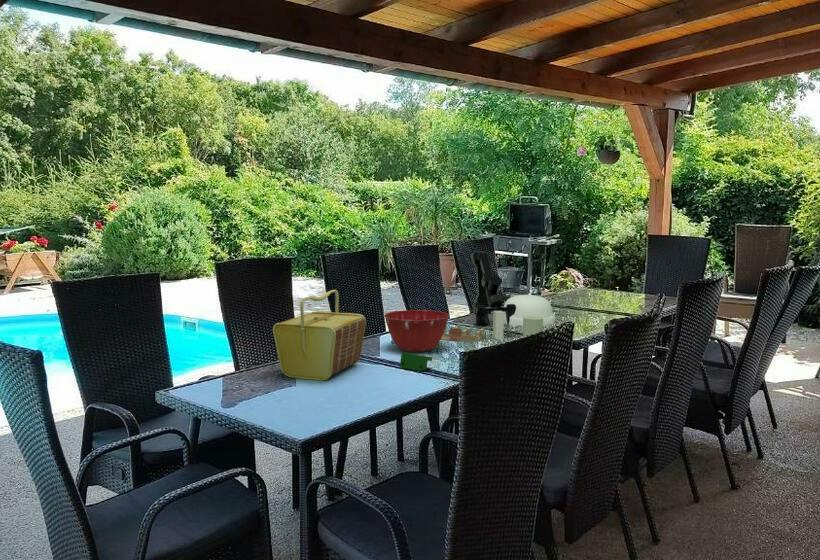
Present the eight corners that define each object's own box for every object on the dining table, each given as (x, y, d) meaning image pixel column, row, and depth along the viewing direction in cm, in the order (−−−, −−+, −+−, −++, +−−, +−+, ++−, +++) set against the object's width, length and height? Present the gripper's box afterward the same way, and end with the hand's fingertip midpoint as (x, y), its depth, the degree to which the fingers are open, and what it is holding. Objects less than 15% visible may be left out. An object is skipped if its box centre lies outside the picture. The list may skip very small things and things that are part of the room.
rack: (444, 334, 306) (444, 322, 306) (484, 337, 298) (484, 325, 298) (435, 339, 294) (435, 327, 294) (476, 343, 287) (476, 330, 286)
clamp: (426, 380, 243) (436, 359, 241) (417, 379, 238) (428, 359, 236) (405, 363, 249) (415, 343, 248) (396, 363, 245) (406, 342, 243)
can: (520, 343, 285) (520, 317, 284) (524, 339, 294) (525, 314, 292) (540, 345, 282) (541, 318, 280) (544, 340, 290) (545, 315, 289)
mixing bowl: (392, 340, 293) (392, 308, 291) (453, 343, 287) (453, 309, 285) (377, 355, 265) (376, 319, 263) (444, 357, 259) (444, 321, 257)
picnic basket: (334, 384, 222) (332, 300, 219) (271, 377, 231) (269, 297, 228) (368, 364, 249) (367, 289, 246) (311, 359, 258) (309, 287, 255)
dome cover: (523, 314, 362) (523, 290, 361) (567, 321, 340) (568, 295, 339) (487, 321, 341) (487, 295, 339) (531, 329, 319) (532, 302, 317)
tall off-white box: (493, 337, 298) (493, 310, 297) (500, 337, 299) (500, 310, 297) (495, 339, 293) (496, 312, 292) (503, 339, 294) (503, 312, 292)
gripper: (477, 288, 296) (482, 315, 287) (515, 287, 298) (522, 314, 289) (473, 302, 305) (478, 328, 295) (510, 301, 307) (516, 327, 297)
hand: (498, 324), depth 294 cm, fingers open, 9 cm apart
